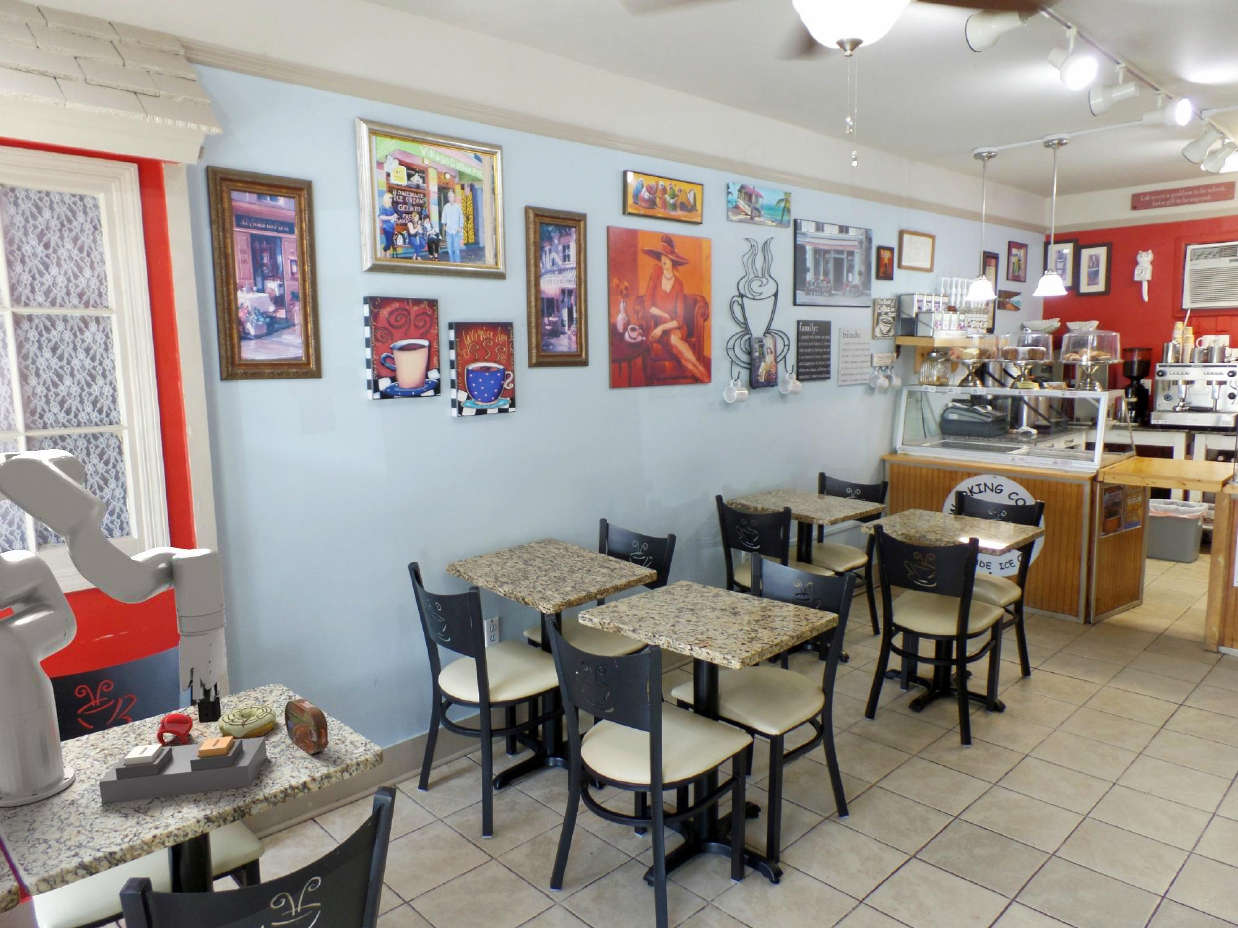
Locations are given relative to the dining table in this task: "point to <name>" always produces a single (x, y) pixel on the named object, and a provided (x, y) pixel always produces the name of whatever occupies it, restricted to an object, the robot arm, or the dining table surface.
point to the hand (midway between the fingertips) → (210, 720)
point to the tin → (306, 726)
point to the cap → (175, 727)
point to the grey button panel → (184, 772)
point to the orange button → (216, 746)
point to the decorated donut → (248, 722)
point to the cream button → (143, 754)
